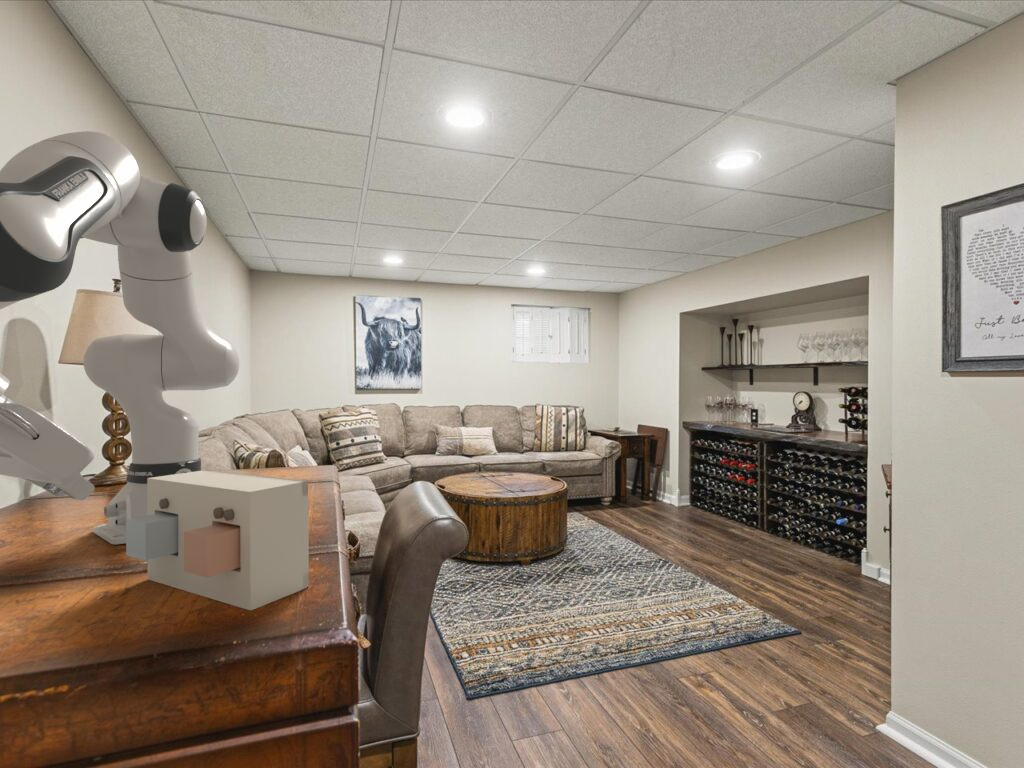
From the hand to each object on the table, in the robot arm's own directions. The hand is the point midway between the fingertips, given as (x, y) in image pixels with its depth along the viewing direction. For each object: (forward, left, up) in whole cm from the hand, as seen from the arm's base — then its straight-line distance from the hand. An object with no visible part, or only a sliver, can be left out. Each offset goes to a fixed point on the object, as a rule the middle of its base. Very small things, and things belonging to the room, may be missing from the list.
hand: (76, 492), depth 56 cm
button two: (0, +16, -12) cm, 20 cm away
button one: (-14, +16, -12) cm, 25 cm away
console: (-7, +21, -17) cm, 28 cm away
